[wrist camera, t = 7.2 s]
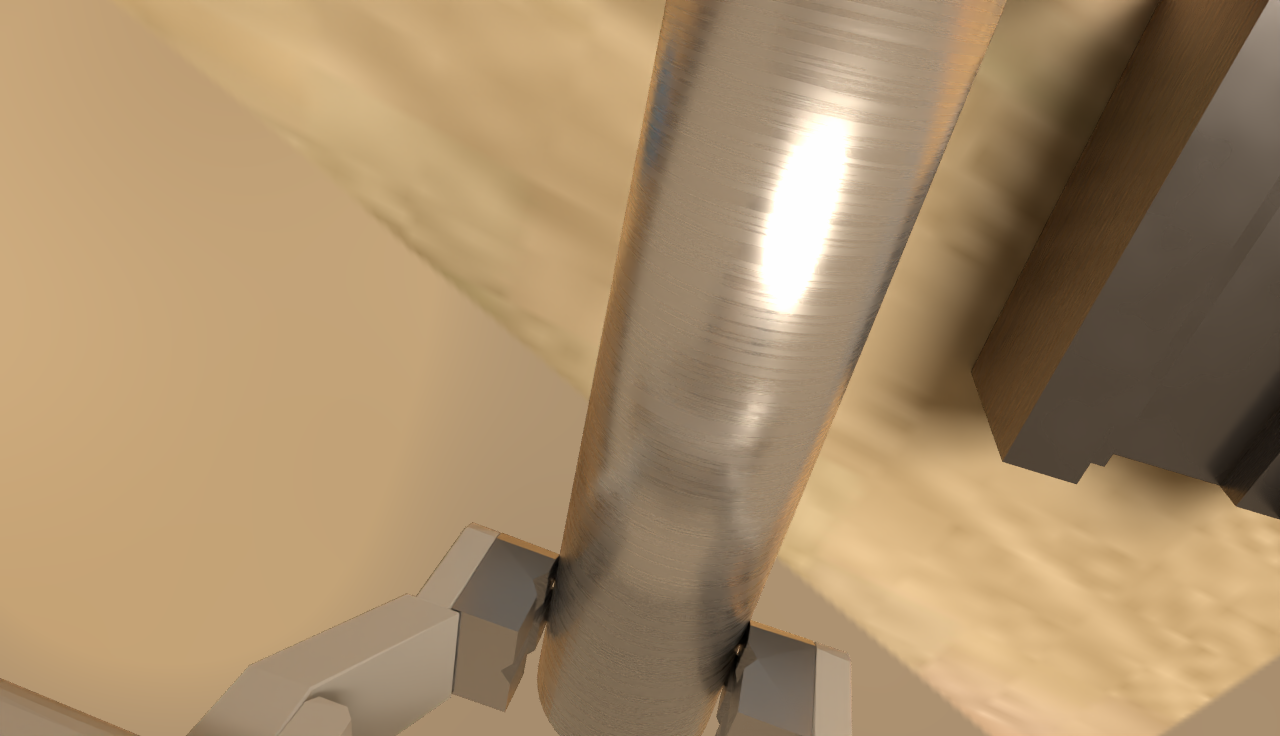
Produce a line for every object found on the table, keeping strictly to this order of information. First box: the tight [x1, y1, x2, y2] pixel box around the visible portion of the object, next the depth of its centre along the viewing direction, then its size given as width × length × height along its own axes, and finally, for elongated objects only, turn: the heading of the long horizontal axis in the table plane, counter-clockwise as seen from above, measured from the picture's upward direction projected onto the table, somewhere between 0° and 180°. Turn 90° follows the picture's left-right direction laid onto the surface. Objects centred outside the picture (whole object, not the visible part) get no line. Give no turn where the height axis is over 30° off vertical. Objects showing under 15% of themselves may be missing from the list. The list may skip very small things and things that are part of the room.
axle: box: [537, 0, 1007, 736], centre depth 9 cm, size 12×3×3 cm, turn 168°
